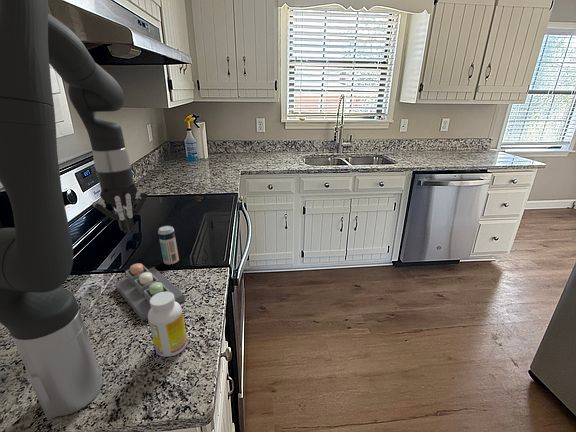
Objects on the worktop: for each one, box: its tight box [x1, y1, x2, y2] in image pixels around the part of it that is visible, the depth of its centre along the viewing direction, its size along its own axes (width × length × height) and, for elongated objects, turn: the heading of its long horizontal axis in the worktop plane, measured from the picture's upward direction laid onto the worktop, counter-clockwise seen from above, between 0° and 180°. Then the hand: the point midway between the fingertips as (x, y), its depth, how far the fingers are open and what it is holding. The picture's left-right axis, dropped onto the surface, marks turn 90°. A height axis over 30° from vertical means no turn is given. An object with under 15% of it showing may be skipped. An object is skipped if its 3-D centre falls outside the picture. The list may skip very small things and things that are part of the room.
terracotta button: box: [129, 263, 144, 276], centre depth 88 cm, size 3×3×3 cm
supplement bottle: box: [147, 292, 188, 358], centre depth 66 cm, size 7×7×13 cm
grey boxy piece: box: [114, 264, 186, 322], centre depth 85 cm, size 11×19×4 cm, turn 44°
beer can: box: [157, 225, 180, 266], centre depth 99 cm, size 5×5×12 cm
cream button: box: [139, 272, 153, 286], centre depth 84 cm, size 3×3×3 cm
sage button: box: [149, 282, 164, 297], centre depth 79 cm, size 3×3×3 cm
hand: (128, 230), depth 83 cm, fingers closed
